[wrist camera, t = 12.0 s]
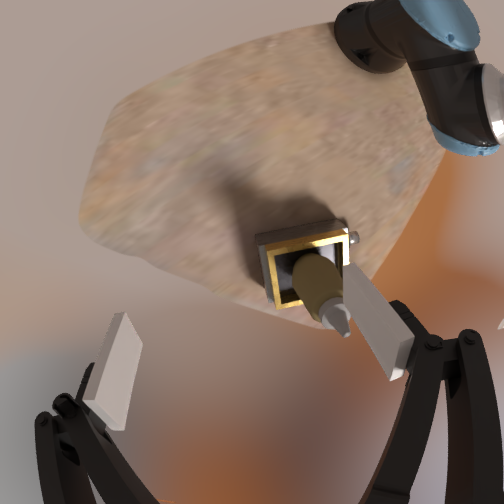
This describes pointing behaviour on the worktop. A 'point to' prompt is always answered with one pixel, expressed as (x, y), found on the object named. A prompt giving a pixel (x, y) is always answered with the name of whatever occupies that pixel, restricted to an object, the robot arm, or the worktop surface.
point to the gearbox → (293, 247)
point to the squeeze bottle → (321, 291)
